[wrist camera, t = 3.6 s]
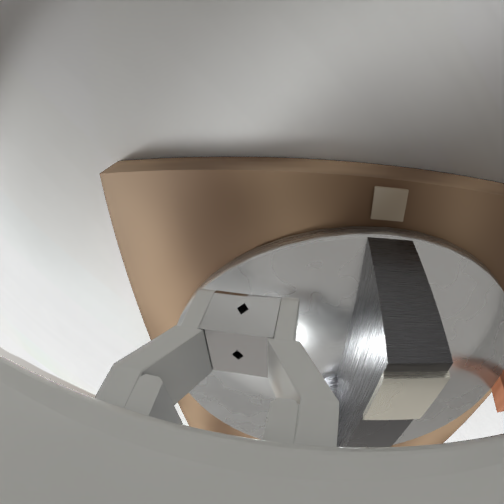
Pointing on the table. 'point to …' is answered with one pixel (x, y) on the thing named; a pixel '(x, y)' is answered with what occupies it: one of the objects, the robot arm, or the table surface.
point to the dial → (371, 330)
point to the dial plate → (280, 227)
